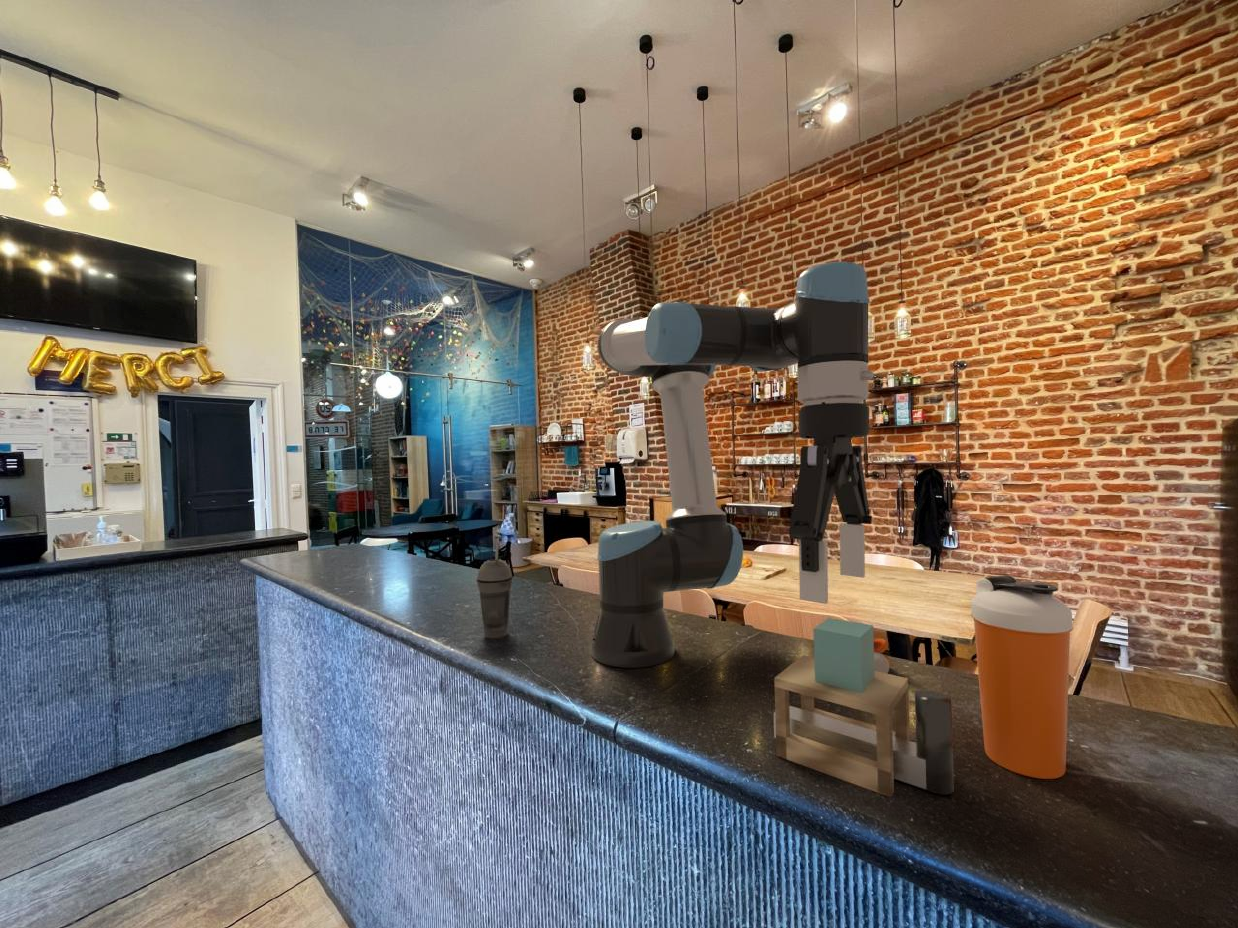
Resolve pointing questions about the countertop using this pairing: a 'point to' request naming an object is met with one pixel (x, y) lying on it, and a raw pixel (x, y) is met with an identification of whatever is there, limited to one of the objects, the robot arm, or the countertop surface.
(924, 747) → the hammer
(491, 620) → the beverage cup
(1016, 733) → the shaker bottle
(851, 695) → the tunnel
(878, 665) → the rainbow segmented toy
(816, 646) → the block
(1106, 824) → the countertop surface
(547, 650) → the countertop surface
